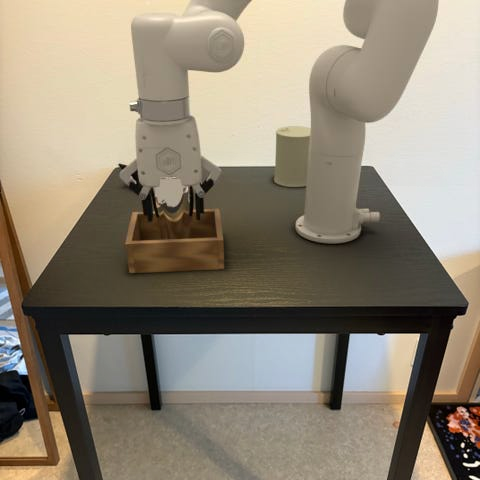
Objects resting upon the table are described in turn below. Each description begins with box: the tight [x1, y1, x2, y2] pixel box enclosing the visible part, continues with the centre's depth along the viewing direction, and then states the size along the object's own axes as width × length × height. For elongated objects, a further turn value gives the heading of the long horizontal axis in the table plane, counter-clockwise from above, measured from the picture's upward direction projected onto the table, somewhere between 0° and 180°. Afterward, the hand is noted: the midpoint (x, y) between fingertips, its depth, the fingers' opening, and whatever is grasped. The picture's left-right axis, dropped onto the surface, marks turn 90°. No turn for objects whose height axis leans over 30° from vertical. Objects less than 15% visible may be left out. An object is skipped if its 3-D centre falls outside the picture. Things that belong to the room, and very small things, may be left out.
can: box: [273, 125, 311, 188], centre depth 116 cm, size 9×9×12 cm
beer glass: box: [150, 177, 195, 240], centre depth 85 cm, size 7×7×15 cm
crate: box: [124, 208, 225, 274], centre depth 87 cm, size 16×13×6 cm
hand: (174, 217), depth 85 cm, fingers open, 7 cm apart
